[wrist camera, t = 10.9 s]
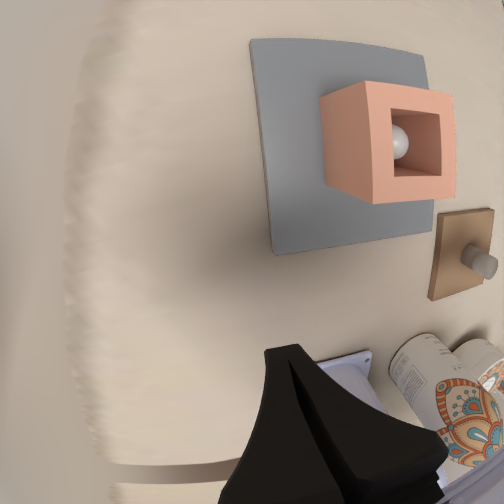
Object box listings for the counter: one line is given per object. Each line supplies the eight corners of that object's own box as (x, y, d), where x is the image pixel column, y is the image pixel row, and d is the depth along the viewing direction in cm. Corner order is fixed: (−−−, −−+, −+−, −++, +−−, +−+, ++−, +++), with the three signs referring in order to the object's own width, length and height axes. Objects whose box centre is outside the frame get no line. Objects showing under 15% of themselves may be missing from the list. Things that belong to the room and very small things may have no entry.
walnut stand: (478, 280, 24) (503, 298, 20) (427, 297, 24) (454, 320, 20) (489, 208, 21) (519, 220, 17) (437, 214, 21) (472, 229, 17)
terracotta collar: (397, 180, 18) (455, 197, 13) (325, 185, 18) (372, 204, 12) (393, 102, 16) (452, 95, 11) (318, 98, 16) (364, 80, 10)
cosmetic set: (506, 336, 30) (576, 404, 13) (475, 383, 33) (534, 456, 15) (416, 315, 24) (539, 452, 7) (370, 386, 27) (448, 526, 10)
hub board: (424, 227, 21) (469, 250, 16) (272, 250, 20) (292, 287, 15) (415, 57, 16) (462, 45, 11) (249, 44, 15) (262, 8, 10)
